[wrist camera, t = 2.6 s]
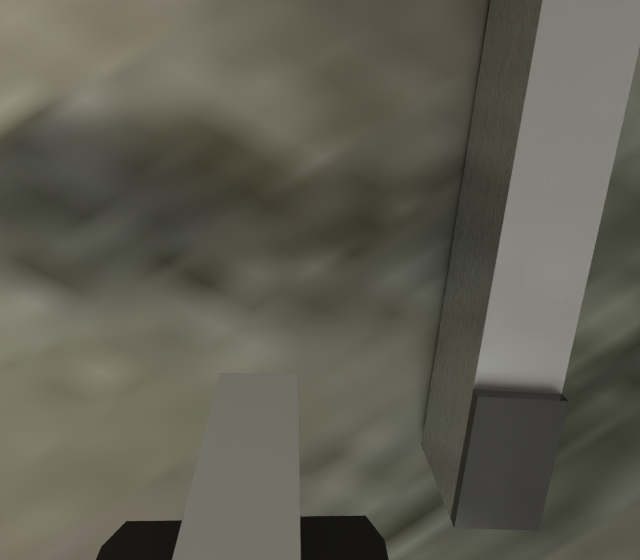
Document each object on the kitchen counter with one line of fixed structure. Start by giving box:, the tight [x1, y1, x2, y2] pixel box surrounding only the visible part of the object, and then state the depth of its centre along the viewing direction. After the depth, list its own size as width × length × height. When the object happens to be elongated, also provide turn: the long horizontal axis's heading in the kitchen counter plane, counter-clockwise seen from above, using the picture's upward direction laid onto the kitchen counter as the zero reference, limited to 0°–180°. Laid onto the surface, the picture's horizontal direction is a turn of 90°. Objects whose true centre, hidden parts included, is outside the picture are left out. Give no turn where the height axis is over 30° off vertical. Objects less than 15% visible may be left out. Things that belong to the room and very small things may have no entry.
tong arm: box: [421, 0, 640, 530], centre depth 17 cm, size 2×14×4 cm, turn 175°
